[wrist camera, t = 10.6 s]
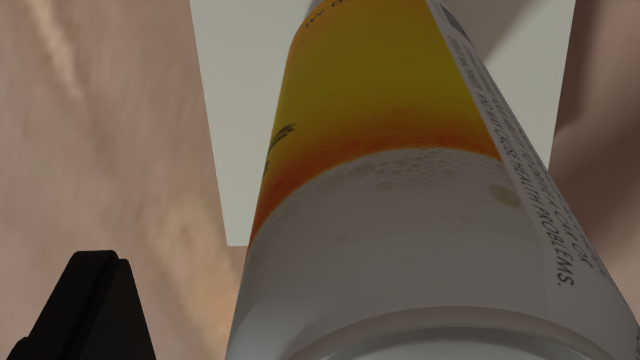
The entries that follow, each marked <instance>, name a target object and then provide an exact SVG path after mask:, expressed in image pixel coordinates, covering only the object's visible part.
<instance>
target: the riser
mask: <svg viewBox="0 0 640 360" xmlns="http://www.w3.org/2000/svg"><path fill="white" fill-rule="evenodd" d="M323 1H324V0H190V6H191V12H192V19H193V25H194V32H195V38H196V45H197V51H198V58H199V64H200V70H201V77H202V83H203V90H204V96H205V103H206V109H207V116H208V122H209V129H210V135H211V141H212V148H213V154H214V161H215V167H216V174H217V180H218V187H219V193H220V200H221V206H222V212H223V219H224V225H225V232H226V238H227V245H228V246H248V244H249V240H250V235H251V230H252V225H253V220H254V215H255V211H256V206H257V201H258V196H259V191H260V186H261V182H262V177H263V172H264V167H265V162H266V157H267V153H268V148H269V143H270V138H271V133H272V128H273V124H274V119H275V114H276V109H277V104H278V99H279V95H280V90H281V85H282V80H283V75H284V70H285V66H286V61H287V56H288V52H289V48H290V45H291V43H292V40H293V38H294V36H295V34H296V32H297V30H298V28H299V26H300V25H301V24H302V22H303V21H304V19H305V18H306V17H307V16H308V15H309V14H310V12H311V11H312V10H313V9H314V8H316V7H317V6H318V5H319V4H320V3H321V2H323ZM439 1H440V2H442V3H443V4H444V5H445V6H446V7H447V8H448V9H449V10H450V11H451V12H452V13H453V14H454V16H455V17H456V19H457V20H458V22H459V23H460V24H461V26H462V28H463V30H464V31H465V33H466V35H467V36H468V38H469V40H470V41H471V43H472V45H473V46H474V48H475V50H476V51H477V53H478V55H479V56H480V58H481V60H482V61H483V63H484V65H485V66H486V68H487V70H488V71H489V73H490V75H491V76H492V78H493V80H494V82H495V83H496V85H497V87H498V88H499V90H500V92H501V93H502V95H503V97H504V98H505V100H506V102H507V103H508V105H509V107H510V108H511V110H512V112H513V113H514V115H515V117H516V118H517V120H518V122H519V123H520V125H521V127H522V128H523V130H524V132H525V134H526V135H527V137H528V139H529V140H530V142H531V144H532V145H533V147H534V149H535V150H536V152H537V154H538V155H539V157H540V159H541V160H542V162H543V164H544V165H545V167H546V169H547V170H548V167H549V161H550V154H551V148H552V142H553V136H554V130H555V124H556V118H557V111H558V105H559V99H560V93H561V87H562V81H563V74H564V68H565V62H566V56H567V50H568V44H569V37H570V31H571V25H572V19H573V13H574V7H575V1H576V0H439Z"/></svg>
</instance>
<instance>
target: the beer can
mask: <svg viewBox="0 0 640 360" xmlns="http://www.w3.org/2000/svg"><path fill="white" fill-rule="evenodd" d="M225 360H640V327H639V325H638V323H637V321H636V319H635V317H634V315H633V313H632V311H631V310H630V308H629V306H628V305H627V303H626V301H625V300H624V298H623V296H622V295H621V293H620V291H619V289H618V288H617V286H616V284H615V283H614V281H613V279H612V278H611V276H610V274H609V273H608V271H607V269H606V268H605V266H604V264H603V263H602V261H601V259H600V258H599V256H598V254H597V253H596V251H595V249H594V248H593V246H592V244H591V243H590V241H589V239H588V237H587V236H586V234H585V232H584V231H583V229H582V227H581V226H580V224H579V222H578V221H577V219H576V217H575V216H574V214H573V212H572V211H571V209H570V207H569V206H568V204H567V202H566V201H565V199H564V197H563V196H562V194H561V192H560V191H559V189H558V187H557V185H556V184H555V182H554V180H553V179H552V177H551V175H550V174H549V172H548V170H547V169H546V167H545V165H544V164H543V162H542V160H541V159H540V157H539V155H538V154H537V152H536V150H535V149H534V147H533V145H532V144H531V142H530V140H529V139H528V137H527V135H526V134H525V132H524V130H523V128H522V127H521V125H520V123H519V122H518V120H517V118H516V117H515V115H514V113H513V112H512V110H511V108H510V107H509V105H508V103H507V102H506V100H505V98H504V97H503V95H502V93H501V92H500V90H499V88H498V87H497V85H496V83H495V82H494V80H493V78H492V76H491V75H490V73H489V71H488V70H487V68H486V66H485V65H484V63H483V61H482V60H481V58H480V56H479V55H478V53H477V51H476V50H475V48H474V46H473V45H472V43H471V41H470V40H469V38H468V36H467V35H466V33H465V31H464V30H463V28H462V26H461V24H460V23H459V22H458V20H457V19H456V17H455V16H454V14H453V13H452V12H451V11H450V10H449V9H448V8H447V7H446V6H445V5H444V4H443V3H442V2H440V1H439V0H324V1H323V2H321V3H320V4H319V5H318V6H317V7H316V8H314V9H313V10H312V11H311V12H310V14H309V15H308V16H307V17H306V18H305V19H304V21H303V22H302V24H301V25H300V26H299V28H298V30H297V32H296V34H295V36H294V38H293V40H292V43H291V45H290V48H289V52H288V56H287V61H286V66H285V70H284V75H283V80H282V85H281V90H280V95H279V99H278V104H277V109H276V114H275V119H274V124H273V128H272V133H271V138H270V143H269V148H268V153H267V157H266V162H265V167H264V172H263V177H262V182H261V186H260V191H259V196H258V201H257V206H256V211H255V215H254V220H253V225H252V230H251V235H250V240H249V244H248V249H247V254H246V259H245V264H244V269H243V273H242V278H241V283H240V288H239V293H238V298H237V302H236V307H235V312H234V317H233V322H232V327H231V331H230V336H229V341H228V346H227V351H226V356H225Z"/></svg>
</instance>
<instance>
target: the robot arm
mask: <svg viewBox="0 0 640 360" xmlns="http://www.w3.org/2000/svg"><path fill="white" fill-rule="evenodd" d="M6 360H156V357H155V353H154V349H153V346H152V342H151V339H150V335H149V331H148V328H147V324H146V321H145V317H144V314H143V310H142V306H141V303H140V299H139V296H138V292H137V288H136V285H135V281H134V278H133V274H132V270H131V267H130V264H129V262H128V260H127V259H119V258H118V256H117V254H116V252H115V251H113V250H98V251H77V252H75V253H74V254H73V256H72V257H71V259H70V260H69V262H68V264H67V266H66V268H65V270H64V271H63V273H62V275H61V277H60V279H59V281H58V283H57V284H56V286H55V288H54V290H53V292H52V294H51V295H50V297H49V299H48V301H47V303H46V305H45V307H44V308H43V310H42V312H41V314H40V316H39V318H38V319H37V321H36V323H35V325H34V327H33V329H32V330H31V332H30V334H29V336H28V337H24V338H22V339H21V340H19V341H18V342H17V343H16V345H15V346H14V348H13V349H12V350H11V352H10V354H9V356H8V357H7V359H6Z"/></svg>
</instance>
